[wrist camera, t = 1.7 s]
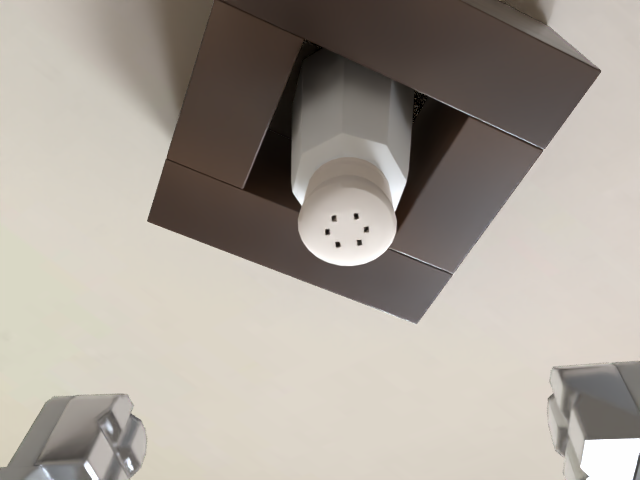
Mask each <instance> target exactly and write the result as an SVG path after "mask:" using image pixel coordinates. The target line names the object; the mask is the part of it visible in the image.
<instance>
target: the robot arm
mask: <svg viewBox="0 0 640 480" xmlns="http://www.w3.org/2000/svg"><path fill="white" fill-rule="evenodd" d="M550 384H551V387H552V390H553V394H552V395H551V396H550V397H549V398H548V406H547V415H548V425H549V430H550V434H551V438H552V441H553V445H554V448H555V451H556V452H558V453H559V454H560V455H561V456H562V457H564V458H565V460H564V469H563V475H564V478H565V480H640V361H630V362H615V363H597V364H584V365H570V366H556V367H553V368H552V370H551V373H550ZM133 406H134V405H133V403H132V401H131V399H130V398H129V396H128V394H96V395H76V396H54V397H52V398H51V399H49V400H48V401H47V402H46V403H45V404H44V406H43V408H42V409H41V411H40V413H39V414H38V416H37V418H36V419H35V421H34V423H33V424H32V426H31V428H30V429H29V431H28V433H27V434H26V436H25V438H24V439H23V441H22V443H21V444H20V446H19V447H18V449H17V451H16V452H15V454H14V456H13V457H12V459H11V461H10V462H9V464H8V466H7V467H1V468H0V480H130V478H131V477H132V476H133V475H134V474H135V473H136V472H137V471H138V470H139V469H140V468H141V467H142V464H143V461H144V458H145V455H146V447H147V436H146V430H145V427H144V425H143V423H142V421H141V420H140V419H138V418H137V417H135V416H134V415H132V414H131V411H132V409H133Z"/></svg>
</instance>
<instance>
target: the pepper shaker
mask: <svg viewBox="0 0 640 480" xmlns="http://www.w3.org/2000/svg"><path fill="white" fill-rule="evenodd" d="M413 105H414V90H413V89H412V88H410V87H408V86H405V85H403V84H401V83H399V82H397V81H395V80H392V79H390V78H388V77H386V76H384V75H382V74H380V73H377V72H375V71H373V70H371V69H369V68H367V67H364V66H362V65H360V64H358V63H356V62H354V61H351V60H349V59H347V58H345V57H343V56H341V55H338V54H336V53H334V52H332V51H330V50H328V49H325V48H323V49H321V50H320V51H318V52H316V53H314V54H313V55H311V56H309V57H308V58H306V59H304V60H303V62H302V66H301V70H300V74H299V79H298V83H297V87H296V91H295V95H294V99H293V104H292V151H291V185H292V192H293V194H294V195H295V197H296V198H297V200H298V201H299V203H300V204H301V210H300V213H299V217H298V231H299V234H300V237H301V239H302V241H303V243H304V244H305V246H306V247H307V248H308V250H309V251H311V252H312V253H313V254H314V255H315V256H316V257H318V258H320V259H322V260H324V261H326V262H328V263H332V264H336V265H340V266H354V265H360V264H365V263H367V262H369V261H372V260H374V259H376V258H377V257H379V256H380V255H381V254H383V253H384V252H385V251H386V250H387V249H388V247H389V246H390V245H391V244H392V242H393V239H394V237H395V234H396V227H397V220H396V215H395V210H396V208H397V205H398V203H399V200H400V198H401V195H402V193H403V190H404V187H405V185H406V182H407V177H408V171H409V160H410V146H411V132H412V118H413Z"/></svg>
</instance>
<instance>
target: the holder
mask: <svg viewBox="0 0 640 480" xmlns="http://www.w3.org/2000/svg"><path fill="white" fill-rule="evenodd" d="M304 39H306V40H308V41H310V42H313V43H315V44H317V45H319V46H321V47H323V48H325V49H328V50H330V51H332V52H334V53H336V54H338V55H341V56H343V57H345V58H347V59H349V60H351V61H354V62H356V63H358V64H360V65H362V66H364V67H367V68H369V69H371V70H373V71H375V72H377V73H380V74H382V75H384V76H386V77H388V78H390V79H392V80H395V81H397V82H399V83H401V84H403V85H405V86H408V87H410V88H412V89H414V90H416V91H418V92H421V93H423V94H425V95H427V96H428V98H427V100H426V102H425V103H424V105H423V107H422V109H421V111H420V112H419V114H418V116H417V118H416V119H415V121H414V123H413V125H412V132H411V146H410V160H409V171H408V177H407V182H406V185H405V187H404V190H403V193H402V195H401V198H400V200H399V203H398V205H397V208H396V210H395V215H396V220H397V227H396V234H395V237H394V239H393V242H392V244H391V245H390V246H389V247H388V249H387V250H386V251H385V252H384V253H383V254H381V255H380V256H379V257H377V258H376V259H374V260H372V261H369V262H367V263H365V264H360V265H354V266H340V265H336V264H332V263H328V262H326V261H324V260H322V259H320V258H318V257H316V256H315V255H314V254H313V253H312V252H311V251H309V250H308V248H307V247H306V246H305V244H304V243H303V241H302V239H301V237H300V234H299V231H298V217H299V213H300V210H301V204H300V203H299V201H298V200H297V198H296V197H295V195H294V194H293V192H292V185H291V151H292V139H289V138H287V137H285V136H282V135H280V134H278V133H275V132H273V131H271V130H268V127H269V125H270V122H271V120H272V117H273V115H274V113H275V110H276V108H277V105H278V103H279V100H280V98H281V95H282V93H283V90H284V88H285V85H286V83H287V81H288V78H289V76H290V73H291V71H292V68H293V66H294V63H295V61H296V58H297V56H298V54H299V51H300V49H301V46H302V44H303V41H304ZM600 73H601V70H600V69H599V68H598V67H596V66H595V65H594V64H593V63H592V62H590V61H589V60H588V59H587V58H586V57H585V56H583V55H582V54H581V53H580V52H579V51H577V50H576V49H575V48H574V47H573V46H572V45H570V44H569V43H568V42H567V41H566V40H564V39H563V38H562V37H561V36H560V35H559V34H557V33H556V32H555V31H554V30H553V29H551V28H550V27H549V26H547V25H545V24H543V23H541V22H539V21H537V20H535V19H533V18H532V17H530V16H528V15H526V14H524V13H522V12H520V11H518V10H516V9H514V8H512V7H510V6H508V5H506V4H504V3H502V2H500V1H498V0H214V3H213V6H212V9H211V13H210V16H209V19H208V22H207V26H206V29H205V32H204V36H203V39H202V42H201V45H200V49H199V52H198V55H197V59H196V62H195V65H194V69H193V72H192V75H191V78H190V82H189V85H188V88H187V92H186V95H185V98H184V101H183V105H182V108H181V111H180V115H179V118H178V121H177V124H176V128H175V131H174V134H173V138H172V141H171V144H170V147H169V151H168V154H167V158H166V160H165V164H164V167H163V170H162V174H161V177H160V180H159V184H158V187H157V190H156V193H155V197H154V200H153V203H152V207H151V210H150V213H149V216H148V220H147V221H148V222H150V223H152V224H155V225H158V226H160V227H163V228H166V229H168V230H171V231H173V232H176V233H179V234H181V235H184V236H187V237H189V238H192V239H194V240H197V241H200V242H202V243H205V244H207V245H210V246H213V247H215V248H218V249H221V250H223V251H226V252H228V253H231V254H234V255H236V256H239V257H242V258H244V259H247V260H249V261H252V262H255V263H257V264H260V265H263V266H265V267H268V268H270V269H273V270H276V271H278V272H281V273H283V274H286V275H289V276H291V277H294V278H297V279H299V280H302V281H304V282H307V283H310V284H312V285H315V286H318V287H320V288H323V289H325V290H328V291H331V292H333V293H336V294H339V295H341V296H344V297H346V298H349V299H352V300H354V301H357V302H360V303H362V304H365V305H367V306H370V307H373V308H375V309H378V310H380V311H383V312H386V313H388V314H391V315H394V316H396V317H399V318H401V319H404V320H407V321H409V322H412V323H415V324H417V323H418V322H419V320H420V319H421V318H422V316H423V315H424V314H425V312H426V311H427V309H428V308H429V307H430V305H431V304H432V303H433V301H434V300H435V299H436V297H437V296H438V294H439V293H440V292H441V290H442V289H443V288H444V286H445V285H446V283H447V282H448V281H449V279H450V278H451V277H452V275H453V273H454V272H455V271H456V269H457V268H458V267H459V265H460V264H461V263H462V261H463V260H464V258H465V257H466V256H467V254H468V253H469V252H470V250H471V249H472V247H473V246H474V245H475V243H476V242H477V241H478V239H479V238H480V237H481V235H482V234H483V232H484V231H485V230H486V228H487V227H488V226H489V224H490V223H491V221H492V220H493V219H494V217H495V216H496V215H497V213H498V212H499V211H500V209H501V208H502V206H503V205H504V204H505V202H506V201H507V200H508V198H509V197H510V195H511V194H512V193H513V191H514V190H515V189H516V187H517V186H518V184H519V183H520V182H521V180H522V179H523V178H524V176H525V175H526V174H527V172H528V171H529V169H530V168H531V167H532V165H533V164H534V163H535V161H536V160H537V158H538V157H539V156H540V154H541V153H542V152H543V149H545V148H546V147H547V145H548V144H549V142H550V141H551V140H552V138H553V137H554V136H555V134H556V133H557V132H558V130H559V129H560V127H561V126H562V125H563V123H564V122H565V121H566V119H567V118H568V116H569V115H570V114H571V112H572V111H573V110H574V108H575V107H576V106H577V104H578V103H579V101H580V100H581V99H582V97H583V96H584V95H585V93H586V92H587V90H588V89H589V88H590V86H591V85H592V84H593V82H594V81H595V80H596V78H597V77H598V75H599V74H600Z"/></svg>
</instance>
